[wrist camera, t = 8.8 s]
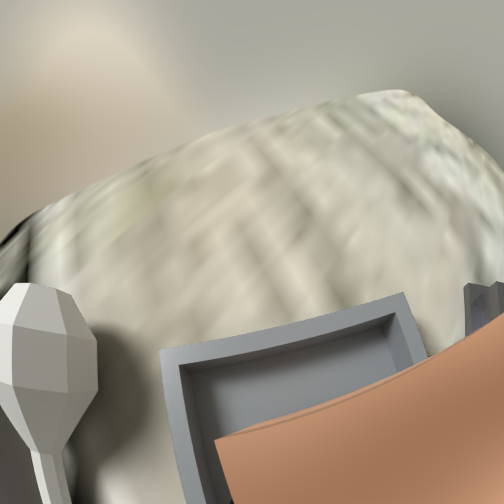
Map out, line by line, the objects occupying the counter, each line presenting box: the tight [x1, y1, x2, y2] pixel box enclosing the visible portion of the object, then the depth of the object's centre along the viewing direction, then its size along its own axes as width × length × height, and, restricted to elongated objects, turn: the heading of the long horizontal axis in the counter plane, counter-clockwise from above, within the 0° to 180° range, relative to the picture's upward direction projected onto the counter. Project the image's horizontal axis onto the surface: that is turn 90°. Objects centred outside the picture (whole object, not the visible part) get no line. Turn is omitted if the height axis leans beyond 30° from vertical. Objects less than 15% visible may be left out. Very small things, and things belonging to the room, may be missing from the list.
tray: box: [159, 292, 428, 504], centre depth 13 cm, size 14×14×4 cm
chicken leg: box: [0, 283, 98, 504], centre depth 12 cm, size 8×18×8 cm, turn 2°
